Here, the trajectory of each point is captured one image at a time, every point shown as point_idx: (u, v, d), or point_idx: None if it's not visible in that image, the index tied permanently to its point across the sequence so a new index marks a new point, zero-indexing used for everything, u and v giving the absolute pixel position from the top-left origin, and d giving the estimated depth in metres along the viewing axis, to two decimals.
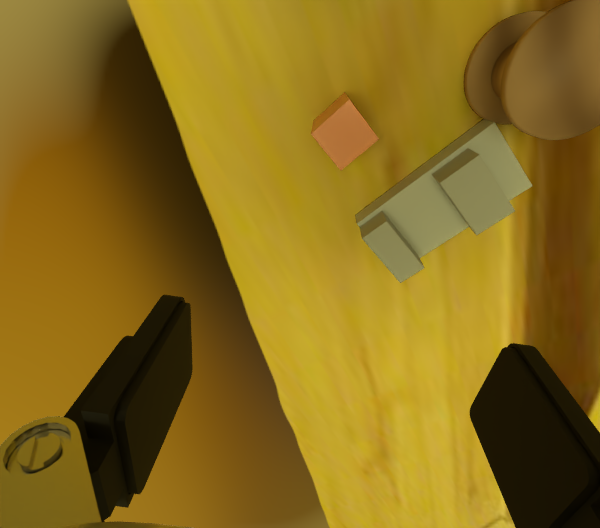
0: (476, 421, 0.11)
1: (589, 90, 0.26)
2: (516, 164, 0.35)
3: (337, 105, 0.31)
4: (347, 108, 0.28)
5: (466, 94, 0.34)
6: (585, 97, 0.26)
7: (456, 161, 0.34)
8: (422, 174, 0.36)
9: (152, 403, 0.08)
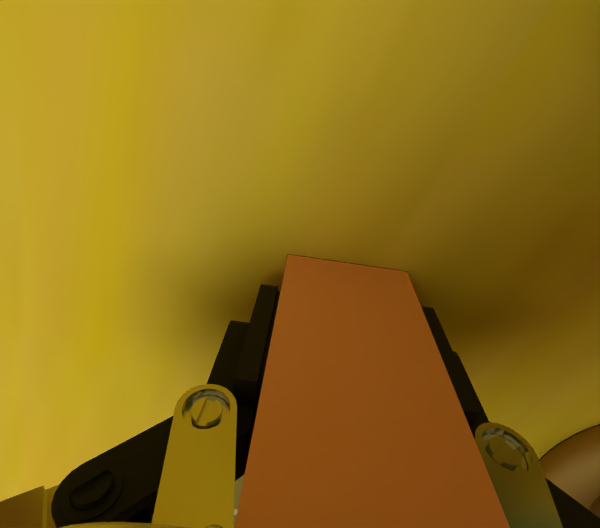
0: None
1: None
2: None
3: (405, 390, 0.07)
4: None
5: (556, 457, 0.15)
6: None
7: None
8: None
9: None
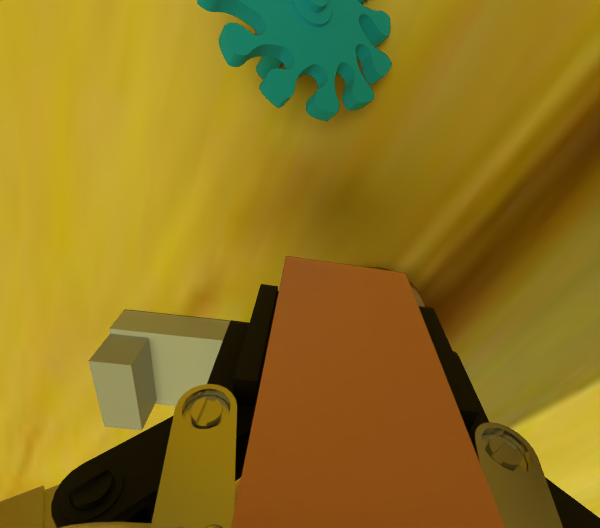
0: None
1: None
2: None
3: (403, 393, 0.07)
4: None
5: None
6: None
7: None
8: (216, 338, 0.28)
9: None
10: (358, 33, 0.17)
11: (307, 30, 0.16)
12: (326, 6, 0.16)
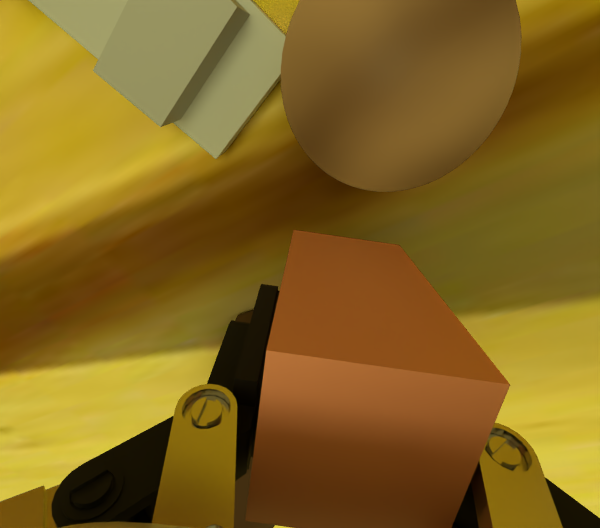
0: None
1: (369, 120, 0.15)
2: (241, 118, 0.21)
3: (403, 299, 0.08)
4: (470, 401, 0.06)
5: None
6: (356, 118, 0.15)
7: None
8: None
9: None
10: None
11: None
12: None
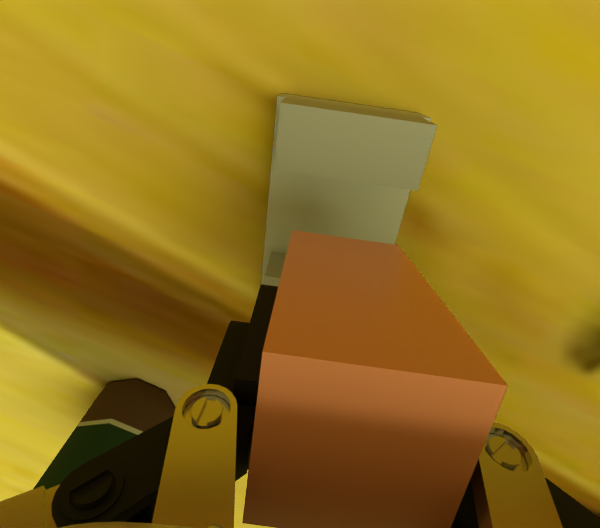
0: None
1: None
2: None
3: (401, 300, 0.08)
4: (468, 402, 0.06)
5: None
6: None
7: None
8: None
9: None
10: None
11: None
12: None
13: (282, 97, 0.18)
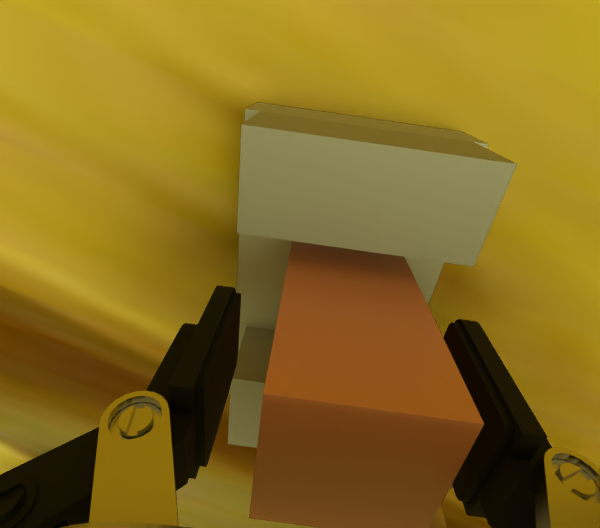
0: None
1: None
2: None
3: (395, 320, 0.09)
4: (448, 436, 0.07)
5: None
6: None
7: None
8: None
9: (217, 383, 0.09)
10: None
11: None
12: None
13: (253, 110, 0.12)
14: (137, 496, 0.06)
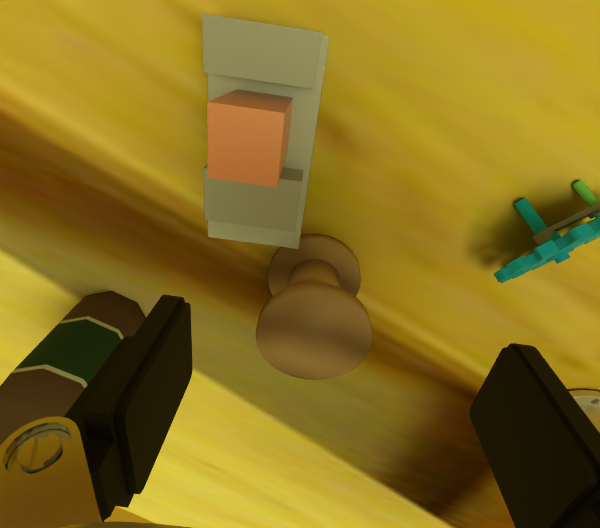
0: (476, 421, 0.11)
1: (291, 339, 0.28)
2: (242, 239, 0.31)
3: (270, 103, 0.21)
4: (274, 120, 0.19)
5: (333, 239, 0.33)
6: (288, 335, 0.27)
7: None
8: None
9: (152, 403, 0.08)
10: (527, 270, 0.31)
11: (552, 256, 0.28)
12: (552, 260, 0.30)
13: None
14: None
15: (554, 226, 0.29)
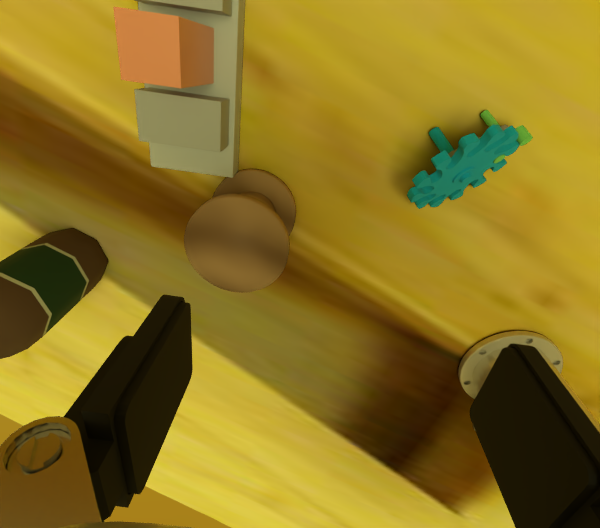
0: (476, 421, 0.11)
1: (216, 249, 0.31)
2: (181, 168, 0.34)
3: None
4: (170, 23, 0.22)
5: (268, 173, 0.36)
6: (213, 244, 0.30)
7: (226, 129, 0.31)
8: (236, 90, 0.31)
9: (152, 403, 0.08)
10: (440, 194, 0.34)
11: (455, 174, 0.31)
12: (459, 182, 0.32)
13: None
14: None
15: None
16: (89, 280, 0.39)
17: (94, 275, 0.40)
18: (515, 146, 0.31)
